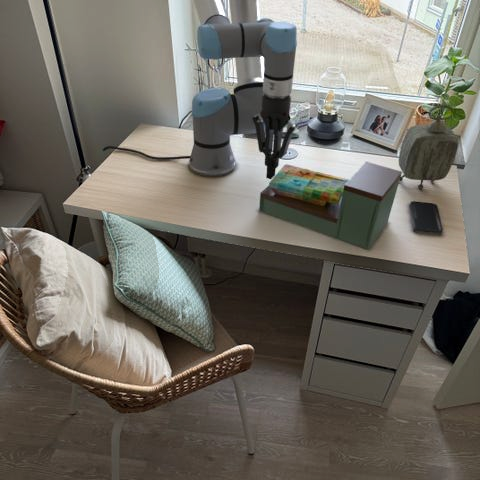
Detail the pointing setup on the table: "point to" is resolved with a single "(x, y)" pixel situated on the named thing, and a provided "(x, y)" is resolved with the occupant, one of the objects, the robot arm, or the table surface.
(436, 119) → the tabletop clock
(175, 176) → the table surface
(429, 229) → the phone
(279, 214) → the step shelf
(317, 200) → the puzzle game
